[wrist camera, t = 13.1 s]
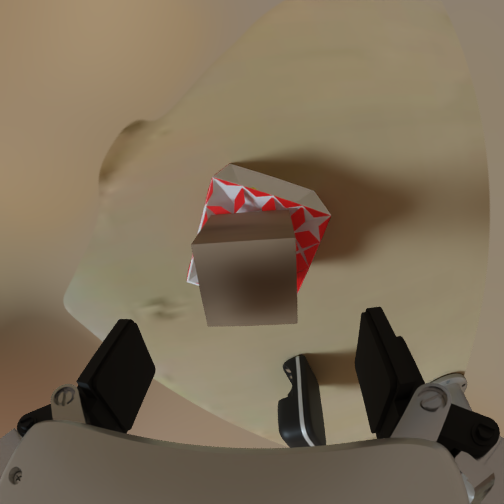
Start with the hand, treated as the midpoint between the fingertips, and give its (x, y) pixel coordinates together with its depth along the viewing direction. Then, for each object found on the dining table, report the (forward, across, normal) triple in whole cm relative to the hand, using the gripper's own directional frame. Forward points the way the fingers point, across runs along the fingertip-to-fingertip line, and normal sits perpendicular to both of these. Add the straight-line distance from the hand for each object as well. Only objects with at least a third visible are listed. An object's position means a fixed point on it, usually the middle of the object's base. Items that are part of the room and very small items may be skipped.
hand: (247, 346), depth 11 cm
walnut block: (+9, 0, 0) cm, 9 cm away
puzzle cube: (+17, 0, 0) cm, 17 cm away
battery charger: (+17, -3, +20) cm, 27 cm away
